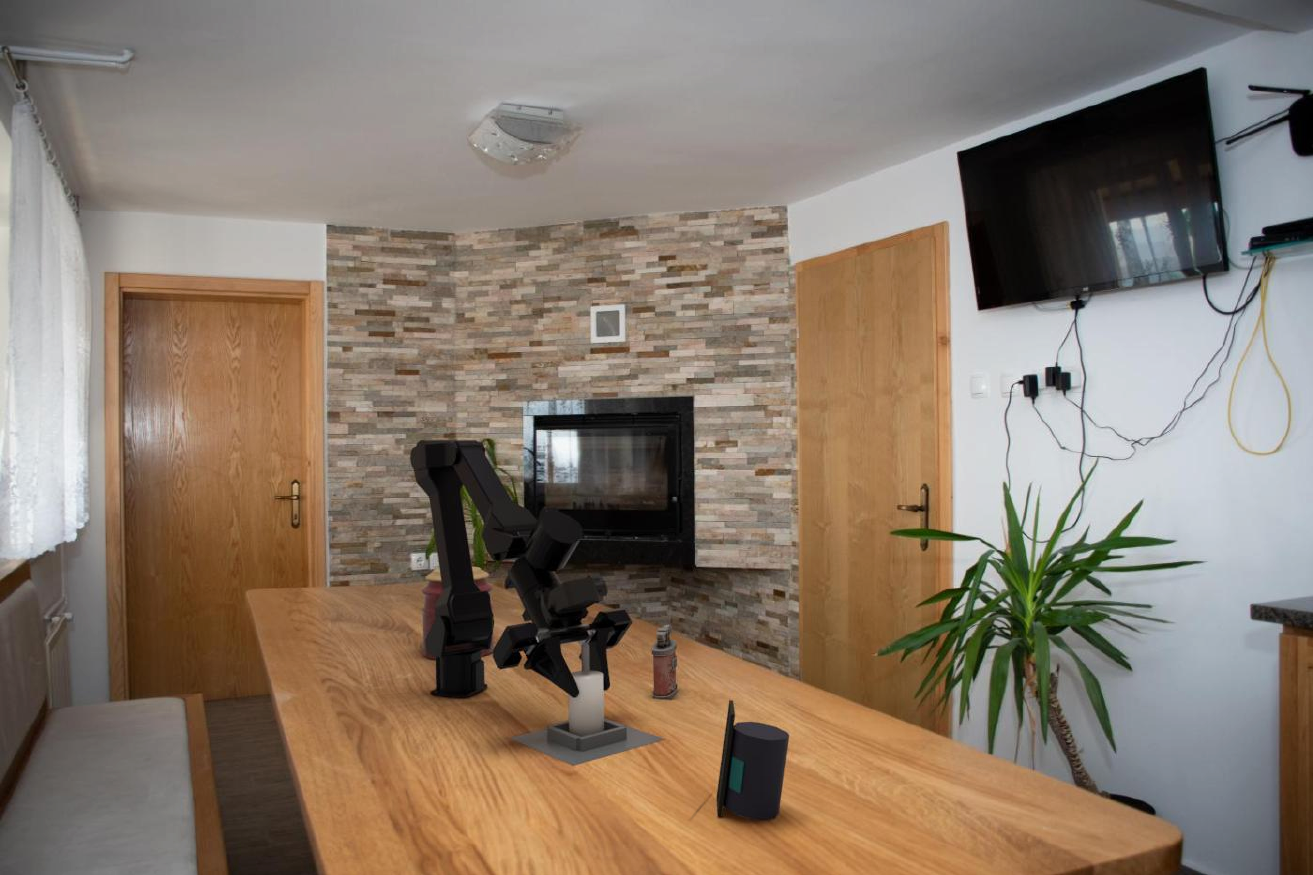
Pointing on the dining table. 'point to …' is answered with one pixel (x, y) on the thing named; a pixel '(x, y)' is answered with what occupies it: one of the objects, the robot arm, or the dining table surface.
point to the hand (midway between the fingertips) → (592, 692)
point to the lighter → (664, 665)
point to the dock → (585, 741)
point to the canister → (432, 595)
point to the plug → (587, 699)
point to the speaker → (751, 768)
